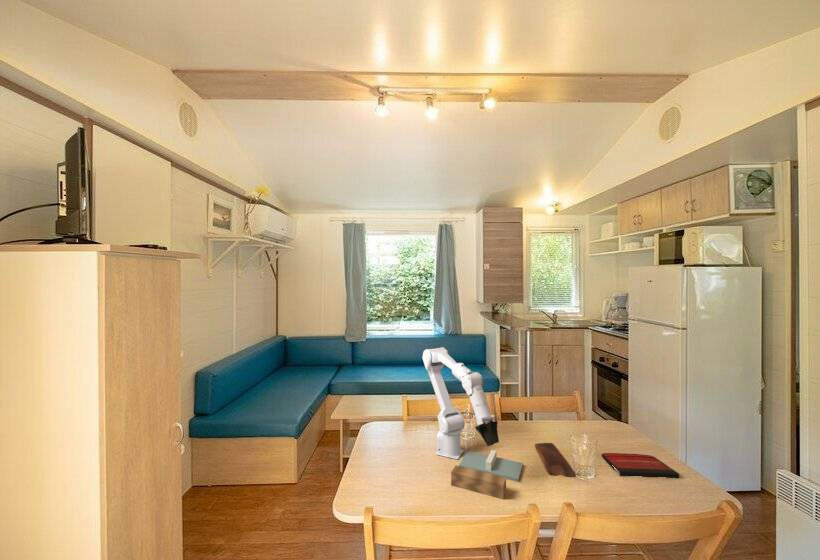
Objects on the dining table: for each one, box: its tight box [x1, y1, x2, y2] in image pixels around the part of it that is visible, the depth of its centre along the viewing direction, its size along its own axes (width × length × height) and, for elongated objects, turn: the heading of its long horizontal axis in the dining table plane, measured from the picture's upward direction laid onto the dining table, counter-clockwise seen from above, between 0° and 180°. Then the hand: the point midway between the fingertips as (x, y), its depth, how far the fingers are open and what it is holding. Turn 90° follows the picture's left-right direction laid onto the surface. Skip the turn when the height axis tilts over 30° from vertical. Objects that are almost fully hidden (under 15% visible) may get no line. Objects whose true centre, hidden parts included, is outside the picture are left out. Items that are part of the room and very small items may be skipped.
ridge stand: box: [458, 449, 524, 482], centre depth 137 cm, size 22×12×4 cm, turn 65°
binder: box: [601, 452, 680, 479], centre depth 137 cm, size 16×2×21 cm
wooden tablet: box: [534, 442, 576, 478], centre depth 143 cm, size 26×2×10 cm
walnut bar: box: [450, 465, 507, 500], centre depth 123 cm, size 18×5×5 cm, turn 64°
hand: (493, 444), depth 126 cm, fingers open, 7 cm apart
